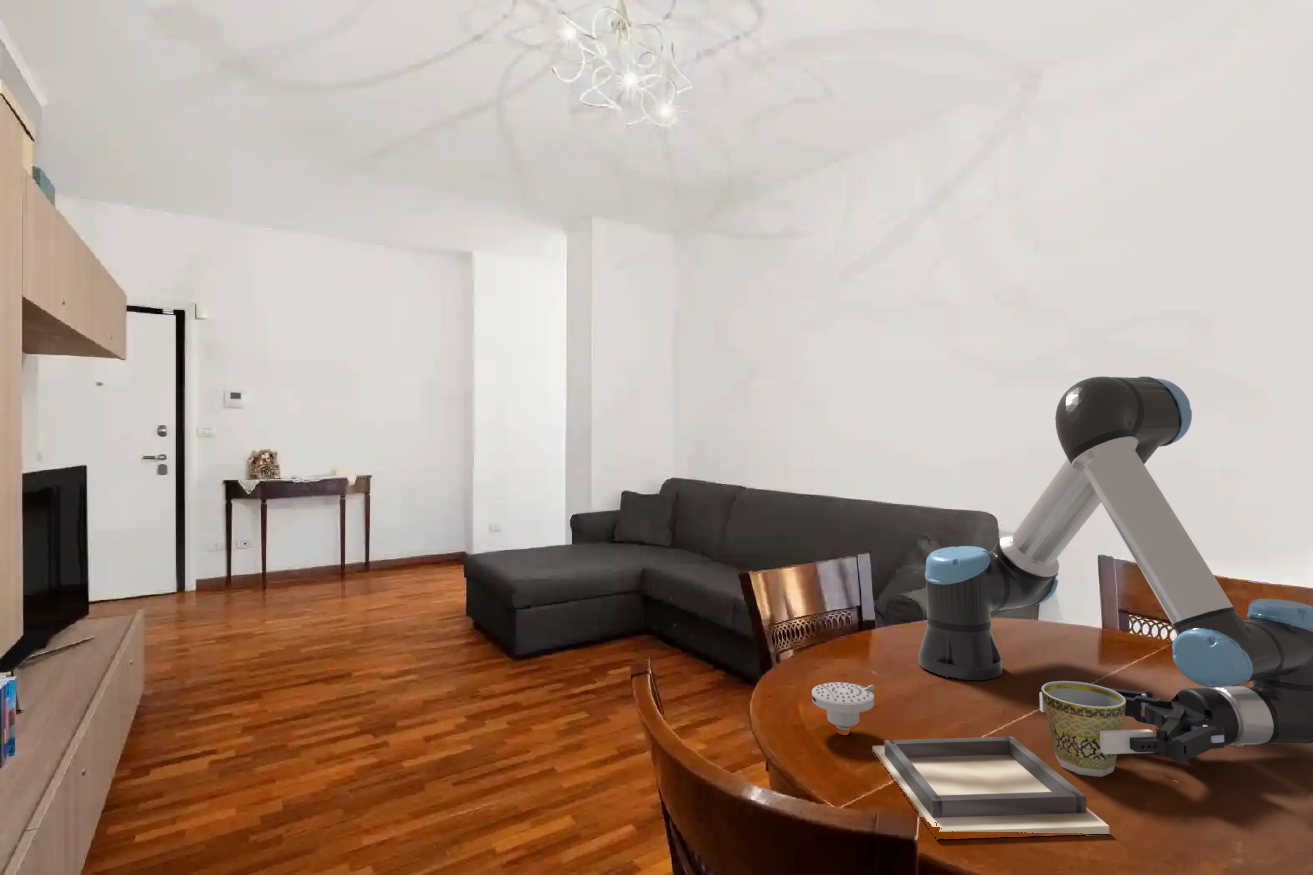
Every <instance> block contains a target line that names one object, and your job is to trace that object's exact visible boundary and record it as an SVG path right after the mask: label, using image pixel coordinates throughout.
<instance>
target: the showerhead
mask: <svg viewBox="0 0 1313 875" xmlns="http://www.w3.org/2000/svg"><path fill="white" fill-rule="evenodd" d="M875 689H876V686H875V685H874V684H870V685H867V686H866V687H865V686H862V685H859V684H857V683H851V682H843V681H840V682H839V681H838V682H835V681H832V682H826V683H821V684H818V685H816V686H814V687H813V688H812V690H811V699H812V700H811V701H812V703H813V704H814V705H816V706H817V707H818V708H820V709H822V710H825V711H826V716H827V717H826V718H827V721H828V722H830V724H832V725H834V726H835V728H836V727H837V728H839V729H841V730H849V729H850V728H851V727H854V726H855V725H857V724H858V723H859V722H860V713H864V712H867V711H869V710H870V709H872V708H874V705H875V695H874V693H873V692H872V691H873V690H875Z"/></svg>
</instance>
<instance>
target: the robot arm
mask: <svg viewBox="0 0 1313 875" xmlns="http://www.w3.org/2000/svg"><path fill="white" fill-rule="evenodd" d="M1192 418H1193V410H1192V409H1191V404H1190V400H1189V398H1188V396H1187V394H1186V393H1185V391H1183V389H1182V388H1181V387H1179V386H1178V385H1177V384H1176V383H1173V382H1172V381H1170V380H1166V379H1163V378H1156V377H1151V376H1147V375H1146V376H1138V377H1126V376H1125V377H1121V376H1120V377H1119V376H1112V377H1111V376H1094V377H1093V376H1092V377H1088V378H1086V379H1083V380H1080V381H1079V382H1076V383H1075V384H1073V385H1072V386H1070V387H1069V389H1068V390H1066V391H1065V393H1064V394H1063V395H1062V397H1061V398H1060V399H1059V402H1058V404H1057V407H1056V411H1055V418H1054V420H1055V421H1054V422H1055V428H1056V430H1055V431H1056V434H1057V437H1058V441H1059V444H1060V446H1061V448H1062V451H1063V452H1064V454H1065V456H1066V458H1067V459H1066V460H1065V461H1064V463H1063V464H1062V465H1061V467H1060V468H1059V470H1058V471H1057V472H1056V474H1055V475H1054V477H1053V478H1052V480H1051V481H1050V482H1049V483H1048V485H1047V487H1046V488H1045V489H1044V491H1043V492H1042V494H1041V495H1040V496H1039V497H1038V499H1037V500H1036V502H1035V504H1034V505H1033V506H1032V508H1031V509H1030V511H1028V513H1027V515H1026V516H1025V518H1024V519H1023V520H1022V521H1021V523H1020V524H1019V526H1018V527H1017V528H1016V530H1015V531H1014V532H1013V531H1010V532H1006V533H1004V534H1003V535H1001V537H1000V538H999V539H998V540H997V542H996V544H995V545H994V546H993V548H992V549H991V550H989V551H988V550H987V549H985V548H983V547H980V546H973V545H970V546H969V545H961V546H948V547H942V548H939V549H936V550H934V551H931V553H929V554H928V555H927V557H926V561H925V571H924V577H925V589H926V591H925V592H926V595H925V596H926V624H927V625H926V630H925V632H924V635H923V638H922V641H921V642H922V643H921V645H920V648H919V651H918V665H919V664H920V665H921V667H924V668H925V669H926V670H928V671H930V672H933V673H936V674H938V675H937V676H939V675H942V676H941V677H943V676H945V678H948V677H953V678H952V679H954V678H958V679H957V680H962V679H963V680H965V681H983V680H984V681H985V680H992V679H996V678H998V677H1000V676H1002V674H1003V660H1002V657H1001V655H1000V653H999V648H998V647H997V643H996V641H995V638H994V636H993V632H992V620H991V619H992V616H991V615H992V613H991V612H996V611H1003V610H1004V611H1005V610H1011V609H1018V608H1023V609H1024V608H1030V607H1034V606H1036V605H1040V604H1042V603H1044V602H1045V603H1046V602H1047V601H1048V600H1049V599H1050V598H1051V597H1052V596H1053V595H1054V594H1055V592H1056V590H1057V588H1058V586H1059V580H1058V579H1057V577H1058V576H1059V570H1060V564H1059V561H1058V558H1059V556H1061V553H1063V551H1065V549H1066V547H1067V546H1068V545H1069V544H1070V543H1071V541H1072V540H1073V538H1074V537H1075V536H1076V535H1077V534H1078V532H1079V531H1080V529H1081V528H1082V527H1083V526H1084V525H1085V523H1086V522H1087V521H1088V520H1089V518H1090V517H1091V516H1092V514H1093V513H1094V512H1095V511H1096V509H1097V508H1098V507H1099V506H1100V504H1102V505H1103V507H1104V509H1105V511H1106V513H1107V514H1108V516H1109V517H1110V518H1109V519H1111V521H1112V523H1113V525H1114V527H1115V528H1116V530H1117V532H1118V533H1119V535H1120V537H1121V539H1122V540H1123V542H1124V543H1125V545H1126V547H1127V549H1128V551H1129V553H1130V554H1131V555H1132V557H1133V559H1134V561H1135V563H1136V564H1137V567H1138V568H1139V569H1140V571H1141V573H1142V575H1143V576H1144V579H1145V580H1146V582H1147V583H1148V585H1149V587H1150V588H1151V590H1152V592H1153V594H1154V595H1155V598H1156V599H1157V601H1158V602H1159V605H1160V606H1161V608H1162V609H1163V611H1164V612H1165V615H1166V616H1167V618H1168V619H1169V621H1170V623H1171V625H1172V626H1173V628H1174V630H1175V632H1176V634H1177V635H1176V637H1175V638H1174V640H1173V642H1172V645H1171V649H1172V659H1173V662H1174V664H1175V666H1176V668H1177V669H1178V670H1179V671H1180V672H1181V674H1182V675H1184V676H1185V677H1186V678H1187V679H1188V680H1189V681H1191V682H1193V683H1194V684H1197V685H1200V686H1203V687H1198V688H1197V687H1193V688H1183V689H1180V690H1179V691H1178V692H1177V693H1176V694H1175V695H1174V697H1173V698H1172V699H1168V698H1163V697H1157V698H1154V693H1153V692H1152V691H1149V690H1129V689H1121V688H1112V687H1107V688H1108V689H1113V690H1115V691H1116V692H1117V693H1119V694H1121V695H1122V696H1123V697H1124V698H1125V700H1126V708H1125V715H1124V717H1130V718H1134V720H1135V721H1136V722H1138V723H1143V724H1148V725H1154V726H1155V736H1154V731H1153V730H1151V729H1148V728H1147V729H1145V728H1143V729H1141V728H1140V729H1122V730H1110V731H1100V752H1102V753H1103V754H1117V755H1119V754H1122V755H1123V754H1148V753H1150V754H1152V753H1157V754H1159V755H1161V756H1168V755H1169V756H1171V757H1172V758H1171V760H1173V761H1174V762H1178V763H1183V762H1186V761H1188V760H1191V759H1193V758H1195V757H1197V756H1199V755H1202V754H1204V753H1206V752H1208V751H1210V750H1216V749H1224V748H1225V747H1226V746H1230V745H1231V746H1237V747H1238V748H1243V747H1245V745H1270V744H1271V745H1272V744H1277V745H1278V744H1279V745H1280V744H1301V745H1311V744H1313V606H1312V605H1310V604H1306V603H1303V602H1300V601H1299V602H1298V601H1293V600H1289V599H1288V600H1285V599H1279V598H1278V599H1277V598H1276V599H1275V598H1258V599H1254V600H1251V601H1250V603H1249V604H1248V610H1247V614H1246V618H1247V619H1246V620H1243V619H1242V618H1241V617H1240V615H1239V613H1238V612H1237V610H1236V609H1235V608H1234V606H1233V604H1232V602H1231V601H1230V599H1229V598H1228V596H1227V595H1226V593H1225V592H1224V590H1223V588H1222V586H1221V585H1220V583H1219V582H1218V580H1217V579H1216V577H1215V575H1214V574H1213V572H1212V570H1211V569H1210V568H1209V566H1208V564H1207V563H1206V561H1205V559H1204V558H1203V556H1202V555H1201V553H1200V551H1199V550H1198V548H1197V546H1196V545H1195V543H1194V542H1193V541H1192V539H1191V537H1190V536H1189V534H1188V532H1187V531H1186V529H1185V528H1184V526H1183V524H1182V523H1181V521H1180V520H1179V518H1178V516H1177V515H1176V513H1175V512H1174V510H1173V508H1172V507H1171V505H1170V503H1169V502H1168V501H1167V498H1166V497H1165V495H1164V494H1163V492H1162V491H1161V489H1160V488H1159V486H1158V484H1157V483H1156V480H1155V479H1154V478H1153V476H1152V475H1151V473H1150V471H1149V470H1148V468H1147V467H1146V465H1145V464H1146V463H1147V461H1148V460H1149V459H1150V458H1151V457H1152V455H1153V454H1155V452H1156V451H1157V449H1158V448H1159V447H1160V448H1161V447H1166V446H1170V445H1172V444H1174V443H1177V442H1178V441H1180V440H1181V439H1182V438H1183V437H1184V436H1185V435H1186V434H1187V433H1188V431H1189V429H1190V427H1191V424H1192ZM920 665H919V666H920ZM921 667H920V668H921ZM926 670H925V671H926ZM928 671H927V672H928ZM930 672H929V673H930ZM933 673H932V674H933ZM936 674H935V675H936ZM963 680H962V681H963ZM1249 682H1250V686H1242V685H1244V684H1246V683H1249ZM1039 711H1040V712H1041V713H1046V711H1045V707H1044V703H1043V697H1042V691H1040V692H1039ZM1142 711H1143V712H1144V715H1143V714H1142Z"/></svg>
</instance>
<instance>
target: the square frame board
mask: <svg viewBox="0 0 1313 875" xmlns="http://www.w3.org/2000/svg"><path fill="white" fill-rule="evenodd" d="M883 743H884V745H872V751H873V750H874V752H875V753H876V754H877V756H878V757H879V759H880V760H881V762H883V764H884V766H885V767H886V768H887V770H888V771H889V772H890V774H891V775H892V777H894V779H895V780H896V782H898V784H899V786H900V787H901V788H902V789H903V791H904V792H905V793H906V794H907V796H908V797H909V798H910V800H911V801H912V802H913V804H914V805H915V807H916V808H917V810H918V811H919V816H918V817H919V818H920V817H924V818H925V819H926V821H927V822H929V823H930V824H931V826H932V827H940V830H939V832H952V831H953V832H1019V833H1020V832H1023V833H1024V832H1027V833H1032V832H1033V833H1079V834H1080V833H1083V834H1109V835H1110V825H1109V824H1107V823H1106V822H1105V821H1104V820H1103V819H1101V817H1099V816H1098V815H1096V813H1094V812H1093V811H1092V810H1091V809H1089V808H1088V807H1087V796H1086V795H1085V794H1084V793H1083V792H1081V791H1080V790H1079V789H1078V788H1076V787H1075V786H1074V785H1073V784H1072V783H1070V781H1068V780H1067V779H1065V778H1064V777H1063V776H1062V775H1061V774H1059V773H1058V772H1057V771H1056V770H1055V769H1053V768H1052V767H1051V766H1049V764H1047V763H1046V762H1044V761H1043V760H1042V759H1041V758H1040V757H1039V756H1037V755H1036V754H1034V752H1032V751H1031V750H1029V749H1028V748H1027V747H1026V746H1025V745H1023V744H1022V743H1021V742H1020V741H1019V740H1017V739H1016V738H1015V737H1013V736H987V737H985V736H983V737H955V738H953V737H949V738H923V739H922V738H921V739H919V738H918V739H914V738H913V739H889V740H888V739H886V740H884V741H883ZM935 822H936V823H937V822H938V823H937V826H936V823H935ZM941 828H942V829H941Z"/></svg>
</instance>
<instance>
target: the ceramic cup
mask: <svg viewBox="0 0 1313 875" xmlns="http://www.w3.org/2000/svg"><path fill="white" fill-rule="evenodd" d="M1108 688H1109V687H1104V686H1101V685H1097V684H1093V683H1088V682H1082V681H1072V680H1071V681H1069V680H1058V681H1050V682H1046V683H1044V684H1043V685H1041V688H1040V690H1041V691H1040V692H1042V697H1043V703H1044V707H1045V711H1046V712H1045V714H1046V717H1047V720H1048V726H1049V730H1050V735H1051V738H1052V739H1051V740H1052V745H1053V749H1054V754H1055V757H1056V759H1057V761H1058V763H1059V764H1060V766H1061V768H1063V769H1065V770H1068V771H1070V772H1072V773H1075V774H1077V775H1080V776H1081V775H1083V776H1089V777H1090V776H1091V777H1099V778H1102V777H1105V776H1107V775H1110V774H1111V773H1113V772H1114V771H1115V766H1116V763H1117V762H1116V761H1117V756H1118V754H1103V753H1102V752H1100V731H1110V730H1123V726H1124V722H1125V716H1124V715H1125V708H1126V700H1125V698H1124V697H1123V696H1122V695H1121V694H1119V693H1117V692H1116V691H1115V690H1113V689H1114V688H1113V689H1108Z"/></svg>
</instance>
